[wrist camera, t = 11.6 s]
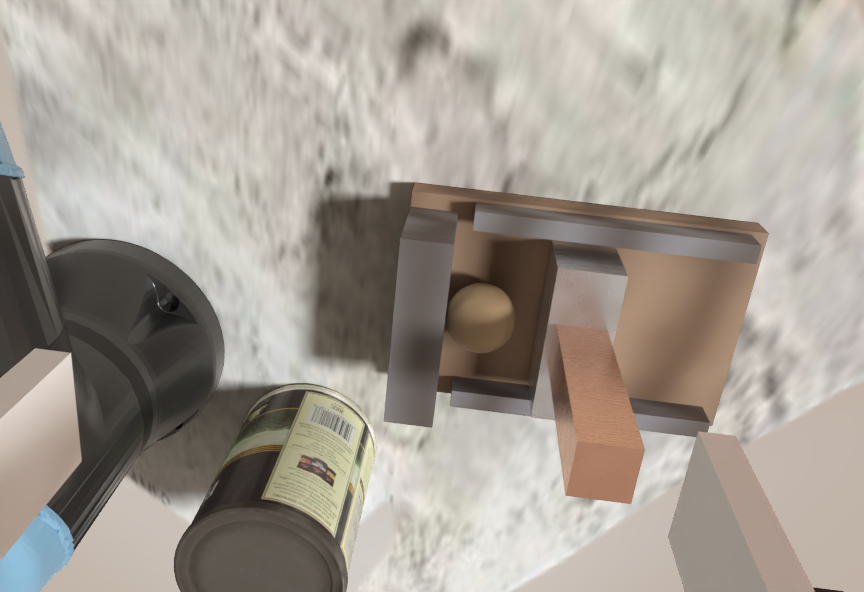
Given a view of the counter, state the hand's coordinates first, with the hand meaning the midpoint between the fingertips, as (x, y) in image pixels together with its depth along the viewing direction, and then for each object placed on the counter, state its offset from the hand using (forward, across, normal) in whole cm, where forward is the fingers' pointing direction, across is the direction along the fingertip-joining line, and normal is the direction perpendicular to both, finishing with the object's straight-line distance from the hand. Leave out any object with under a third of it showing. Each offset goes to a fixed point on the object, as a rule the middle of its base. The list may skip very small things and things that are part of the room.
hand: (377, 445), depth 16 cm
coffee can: (+35, -8, -25) cm, 44 cm away
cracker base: (+35, +9, -11) cm, 37 cm away
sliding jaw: (+32, +9, -11) cm, 35 cm away
